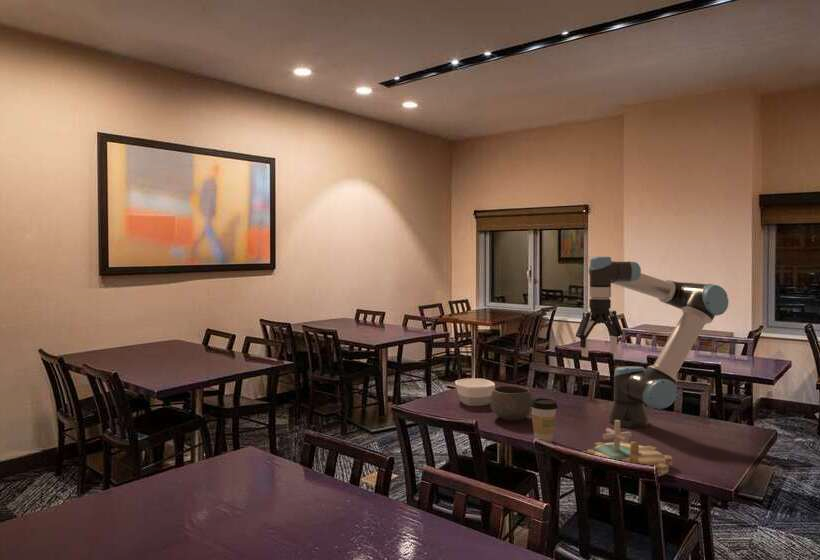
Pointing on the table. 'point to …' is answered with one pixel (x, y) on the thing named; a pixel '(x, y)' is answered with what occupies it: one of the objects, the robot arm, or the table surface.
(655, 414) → the table surface
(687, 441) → the table surface
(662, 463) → the sprocket
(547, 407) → the coffee cup
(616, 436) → the light wooden cross
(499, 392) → the bowl
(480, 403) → the bowl
